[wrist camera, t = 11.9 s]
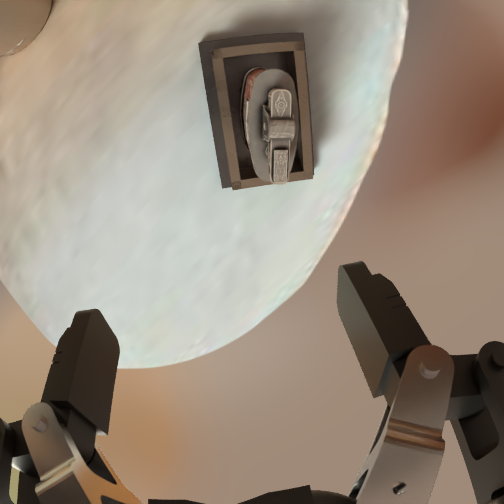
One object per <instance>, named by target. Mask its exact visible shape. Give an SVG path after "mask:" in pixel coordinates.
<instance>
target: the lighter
mask: <svg viewBox="0 0 504 504" xmlns="http://www.w3.org/2000/svg"><path fill="white" fill-rule="evenodd" d="M240 120H241V129H242V134H243V138H244V143H245V146H246V148H247V150H248V151H249V152H250V153H251V158H252V163H253V167H254V170H255V172H256V175H257V176H258V177H259V178H260V179H261V180H264V181H266V182H272V183H273V184H285V183H286V182H287V181H288V178H289V173H290V171H291V169H292V165H293V161H294V157H295V152H296V147H297V138H298V130H299V120H298V102H297V96H296V91H295V85H294V81H293V79H292V77H291V76H290V75H289V74H288V73H286V72H284V71H282V70H278V69H267V68H263V67H255V68H252V69H250V70H248V71H247V72H246V73H245V75H244V79H243V84H242V89H241V96H240Z"/></svg>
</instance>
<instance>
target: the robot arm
mask: <svg viewBox="0 0 504 504" xmlns="http://www.w3.org/2000/svg"><path fill="white" fill-rule="evenodd" d="M51 4H52V0H0V57H2V56H7V55H13V54H15V53H17V52H19V51H21V50H22V49H24V48H25V47H27V46H28V45H29V44H30V43H31V42H32V41H33V40H34V39H35V38H36V36H37V35H38V34H39V33H40V31H41V29H42V28H43V26H44V25H45V23H46V20H47V18H48V16H49V13H50V9H51ZM337 306H338V312H339V316H340V317H341V320H342V323H343V325H344V327H345V330H346V332H347V334H348V337H349V339H350V342H351V344H352V346H353V349H354V351H355V354H356V356H357V358H358V361H359V363H360V366H361V368H362V371H363V373H364V376H365V378H366V380H367V383H368V386H369V388H370V391H371V393H372V396H373V398H376V397H378V396H381V395H384V396H385V399H386V401H387V406H386V408H385V411H384V414H383V417H382V419H381V422H380V425H379V428H378V430H377V433H376V436H375V438H374V441H373V443H372V446H371V448H370V450H369V453H368V455H367V457H366V459H365V461H364V463H363V465H362V467H361V469H360V471H359V473H358V475H357V477H356V480H355V482H354V484H353V486H352V488H351V490H350V492H349V494H348V496H345V495H342V494H339V493H334V492H329V491H320V490H311V489H310V485H307V486H302V487H298V488H292V489H287V490H281V491H275V492H269V493H266V494H263V495H261V496H258V497H255V498H253V499H250V500H247V501H244V502H242V503H239V504H428V501H429V498H430V496H431V493H432V490H433V487H434V484H435V481H436V478H437V475H438V471H439V468H440V465H441V462H442V458H443V454H444V450H445V441H444V440H443V439H442V431H443V427H444V422H445V420H450V422H451V424H452V427H453V429H454V432H455V435H456V438H457V440H458V443H459V446H460V449H461V452H462V454H463V457H464V460H465V463H466V466H467V469H468V473H469V476H470V479H471V482H472V485H473V489H474V492H475V496H476V500H477V503H478V504H504V343H502V342H498V341H492V342H488V343H486V344H485V345H484V346H483V347H482V348H481V350H480V351H479V353H478V354H469V355H449V353H448V352H447V351H445V350H444V349H442V348H441V347H438V346H435V345H432V344H431V343H430V342H429V341H428V339H427V337H426V335H425V334H424V332H423V331H422V329H421V327H420V325H419V324H418V322H417V320H416V319H415V317H414V316H413V314H412V312H411V311H410V309H409V308H408V306H406V303H405V301H404V300H403V298H402V297H400V293H399V292H398V290H397V289H396V287H395V286H394V284H393V283H392V282H391V281H390V280H388V279H387V278H385V277H384V276H383V275H381V274H375V275H372V274H371V273H370V271H369V270H368V268H367V266H366V265H365V263H364V262H362V261H359V262H355V263H350V264H345V265H341V266H339V269H338V288H337ZM55 352H56V354H55V355H54V357H53V361H52V362H53V364H52V365H51V368H50V370H49V374H48V377H47V381H46V384H45V389H44V392H43V395H42V399H41V402H40V403H36V404H34V405H32V406H31V407H30V408H28V410H27V411H26V412H25V414H24V416H23V419H22V420H19V421H16V422H13V423H9V424H7V423H6V422H5V421H3V420H2V419H1V418H0V504H14V503H13V502H12V501H11V499H10V496H9V485H10V476H11V467H14V468H16V469H18V470H19V471H20V473H19V484H18V499H17V504H143V503H142V502H141V501H140V500H139V499H138V498H137V497H136V496H135V495H134V494H133V493H132V492H131V491H129V490H128V489H127V488H126V487H125V486H124V484H123V483H122V482H121V480H120V479H119V477H118V476H117V474H116V473H115V471H114V470H113V468H112V467H111V465H110V464H109V462H108V460H107V459H106V458H105V456H104V454H103V452H102V451H101V449H100V447H99V446H98V445H97V444H96V443H95V436H96V435H108V429H109V421H110V413H111V405H112V398H113V391H114V384H115V378H116V372H117V366H118V360H119V354H120V349H119V343H118V340H117V338H116V336H115V334H114V333H113V331H112V330H111V328H110V327H109V325H108V323H107V322H106V320H105V318H104V317H103V315H102V314H101V312H100V311H99V310H98V309H90V310H84V311H78V312H76V314H75V316H74V318H73V321H72V324H71V327H69V328H67V329H66V331H65V332H64V334H63V335H62V336H61V338H60V339H59V342H58V345H57V348H56V351H55ZM148 504H203V503H198V502H193V501H189V500H158V499H148Z"/></svg>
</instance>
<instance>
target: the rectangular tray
mask: <svg viewBox="0 0 504 504" xmlns="http://www.w3.org/2000/svg"><path fill="white" fill-rule="evenodd" d="M198 45H199V51H200V58H201V64H202V70H203V77H204V83H205V89H206V95H207V101H208V107H209V113H210V119H211V125H212V131H213V137H214V143H215V149H216V155H217V161H218V166H219V172H220V178H221V183H222V188H228V187H232V189H233V190H237V189H244V188H250V187H256V186H263V185H270V184H273V183H272V182H266V181H264V180H261V179H260V178H259V177H258V176H257V175H256V172H255V170H254V167H253V163H252V158H251V153H250V152H249V151H248V150H247V148H246V146H245V143H244V138H243V134H242V129H241V120H240V96H241V89H242V84H243V79H244V75H245V73H246V72H247V71H248V70H250V69H252V68H255V67H263V68H267V69H278V70H282V71H284V72H286V73H288V74H289V75H290V76H291V77H292V79H293V81H294V85H295V91H296V96H297V102H298V120H299V130H298V138H297V147H296V152H295V157H294V161H293V165H292V169H291V171H290V173H289V178H288V181H287V182H291V181H299V180H306V179H313V175H314V164H313V144H312V127H311V112H310V98H309V86H308V74H307V64H306V54H305V44H304V35H303V33H284V34H268V35H256V36H246V37H237V38H229V39H222V40H215V41H208V42H203V43H198Z"/></svg>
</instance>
